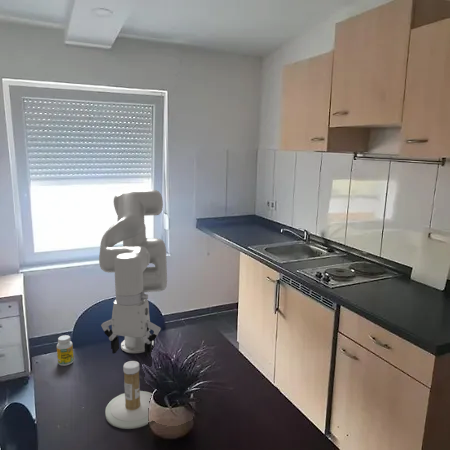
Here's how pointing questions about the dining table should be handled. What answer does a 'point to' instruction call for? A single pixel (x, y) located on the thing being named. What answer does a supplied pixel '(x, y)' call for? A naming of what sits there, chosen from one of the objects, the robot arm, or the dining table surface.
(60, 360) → the supplement bottle
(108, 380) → the dining table surface
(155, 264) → the robot arm
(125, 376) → the sprinkles bottle
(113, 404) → the dish
